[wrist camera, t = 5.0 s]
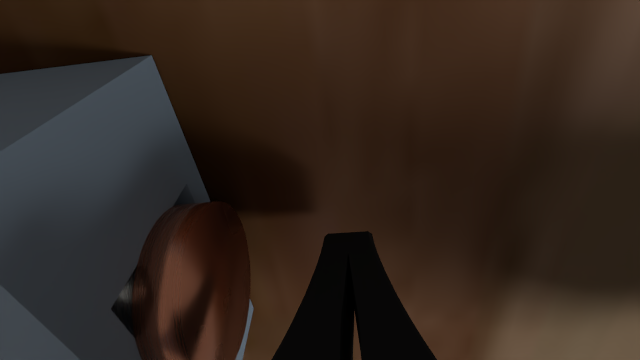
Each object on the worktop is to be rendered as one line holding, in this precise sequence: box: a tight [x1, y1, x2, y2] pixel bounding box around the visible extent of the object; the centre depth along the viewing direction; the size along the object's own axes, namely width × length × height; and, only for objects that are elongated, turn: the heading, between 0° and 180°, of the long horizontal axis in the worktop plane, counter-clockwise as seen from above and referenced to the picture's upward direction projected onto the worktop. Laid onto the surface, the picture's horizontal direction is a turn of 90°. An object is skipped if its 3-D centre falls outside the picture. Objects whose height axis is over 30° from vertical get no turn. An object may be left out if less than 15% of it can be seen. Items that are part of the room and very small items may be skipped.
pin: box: [111, 201, 250, 360], centre depth 11 cm, size 10×5×5 cm, turn 97°
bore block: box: [0, 55, 254, 360], centre depth 10 cm, size 6×12×6 cm, turn 7°
